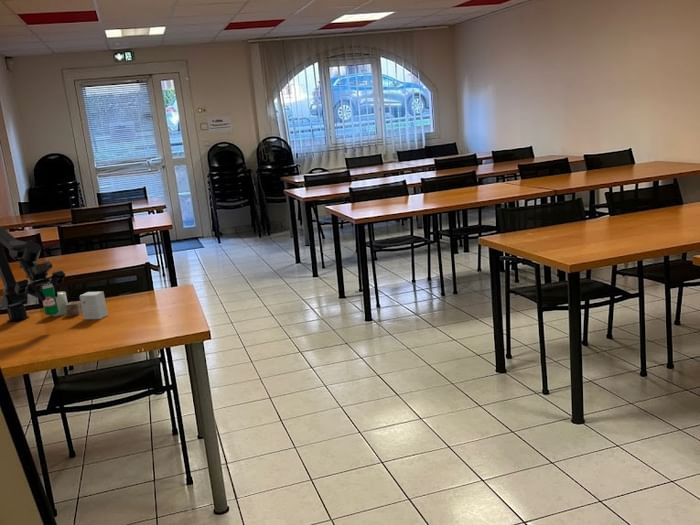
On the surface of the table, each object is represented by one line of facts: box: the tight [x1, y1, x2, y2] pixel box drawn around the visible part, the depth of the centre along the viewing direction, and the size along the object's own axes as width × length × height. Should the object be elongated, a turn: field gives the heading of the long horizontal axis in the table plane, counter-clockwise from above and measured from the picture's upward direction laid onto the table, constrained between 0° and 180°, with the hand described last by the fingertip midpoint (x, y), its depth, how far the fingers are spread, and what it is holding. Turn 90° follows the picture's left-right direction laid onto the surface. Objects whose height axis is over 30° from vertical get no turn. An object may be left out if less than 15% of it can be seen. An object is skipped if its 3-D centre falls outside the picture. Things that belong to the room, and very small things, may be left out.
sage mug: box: [51, 291, 69, 317], centre depth 285 cm, size 8×7×9 cm
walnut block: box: [65, 300, 83, 317], centre depth 282 cm, size 5×5×5 cm
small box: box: [79, 290, 109, 320], centre depth 273 cm, size 8×6×10 cm
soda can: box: [39, 283, 59, 316], centre depth 259 cm, size 5×5×12 cm
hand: (50, 298), depth 258 cm, fingers closed on soda can, 5 cm apart
